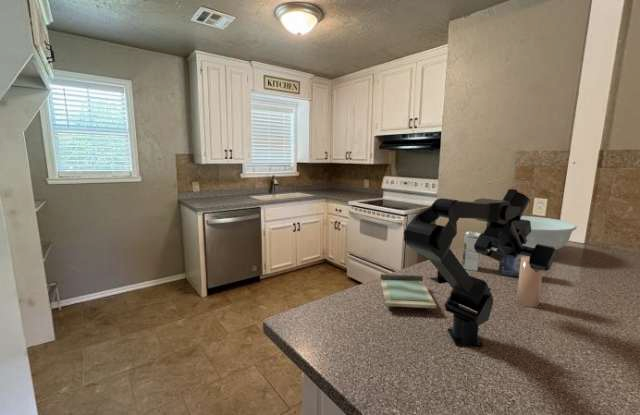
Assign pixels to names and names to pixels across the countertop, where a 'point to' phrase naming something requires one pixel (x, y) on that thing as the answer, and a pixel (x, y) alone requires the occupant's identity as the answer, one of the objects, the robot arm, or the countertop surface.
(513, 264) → the small box
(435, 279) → the dark piece
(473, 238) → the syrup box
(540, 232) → the bowl
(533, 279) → the canister
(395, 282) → the mint green tray
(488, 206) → the robot arm
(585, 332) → the countertop surface
